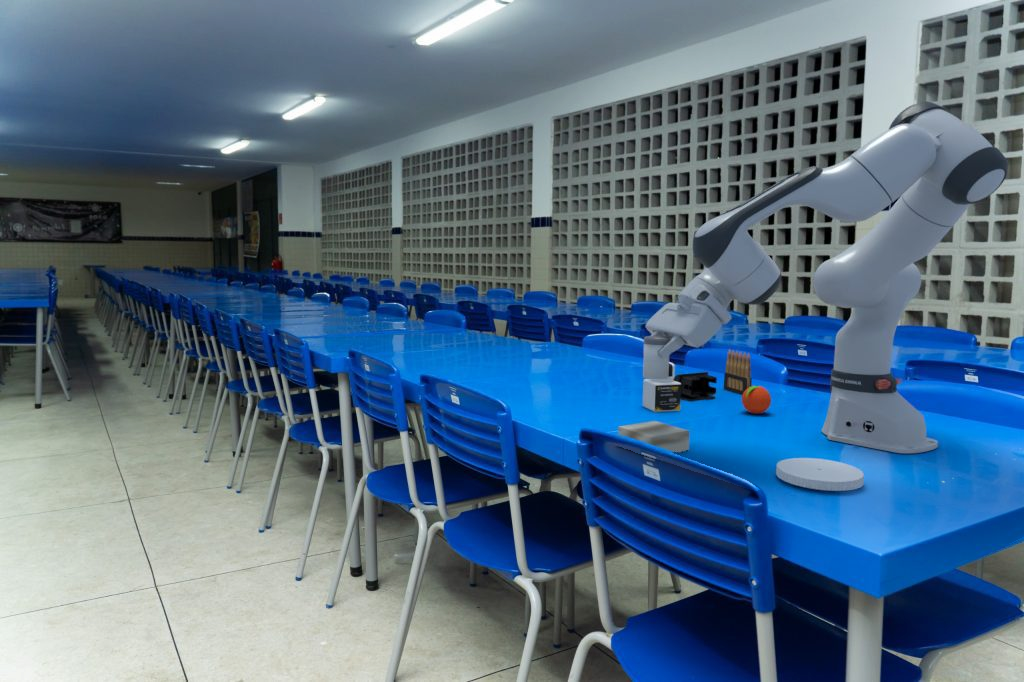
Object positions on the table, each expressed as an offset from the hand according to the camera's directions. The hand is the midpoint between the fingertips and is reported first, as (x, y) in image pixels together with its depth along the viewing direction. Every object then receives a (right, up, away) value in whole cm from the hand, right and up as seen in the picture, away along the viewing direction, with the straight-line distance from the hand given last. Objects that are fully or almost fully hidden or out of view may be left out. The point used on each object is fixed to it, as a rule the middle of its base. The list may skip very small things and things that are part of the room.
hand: (653, 353), depth 144 cm
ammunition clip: (+36, -12, +62) cm, 73 cm away
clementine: (+32, -16, +35) cm, 50 cm away
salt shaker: (+1, -5, +1) cm, 5 cm away
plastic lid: (+25, -22, -18) cm, 38 cm away
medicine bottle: (+10, -15, +40) cm, 44 cm away
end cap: (+22, -13, +55) cm, 60 cm away
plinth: (0, -19, +3) cm, 19 cm away
